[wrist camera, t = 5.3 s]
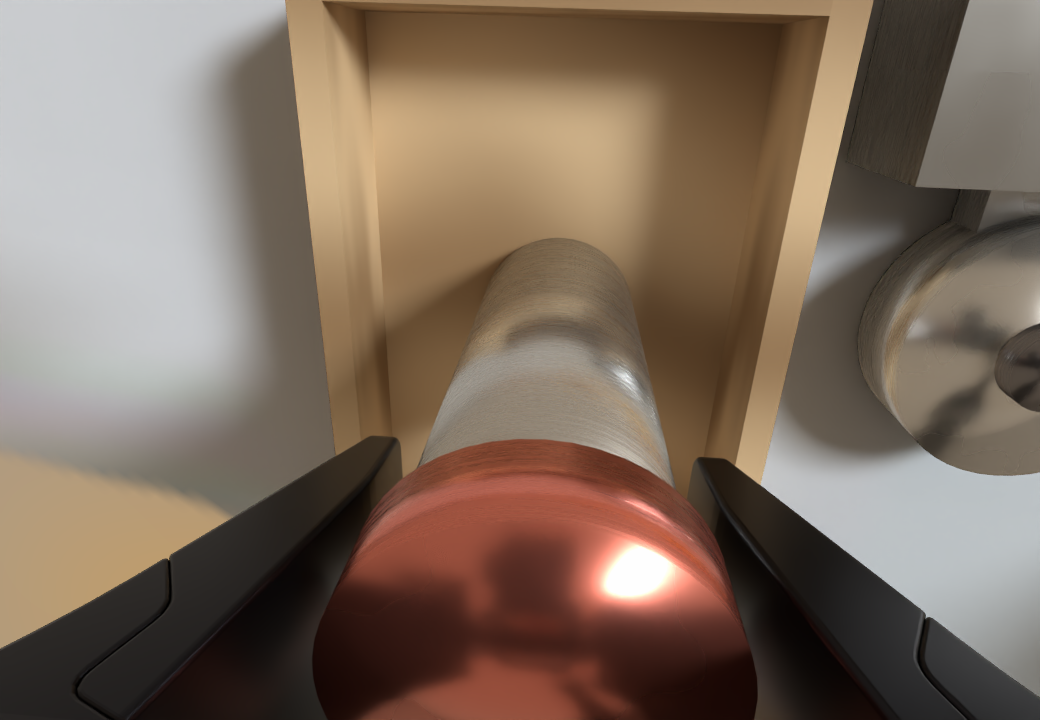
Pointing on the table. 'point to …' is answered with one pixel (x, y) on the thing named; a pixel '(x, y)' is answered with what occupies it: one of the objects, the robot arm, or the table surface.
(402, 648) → the pin
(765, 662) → the robot arm
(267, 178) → the table surface
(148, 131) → the table surface
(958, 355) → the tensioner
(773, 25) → the tray
